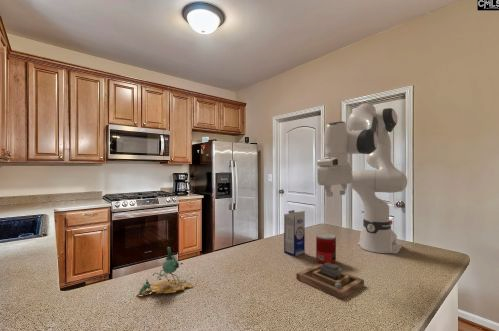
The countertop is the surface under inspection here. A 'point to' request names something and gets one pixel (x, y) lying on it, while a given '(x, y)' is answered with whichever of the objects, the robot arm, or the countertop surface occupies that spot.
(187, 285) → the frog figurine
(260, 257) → the countertop surface
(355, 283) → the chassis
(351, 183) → the robot arm
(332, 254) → the canned food
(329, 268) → the grey block
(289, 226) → the milk carton
